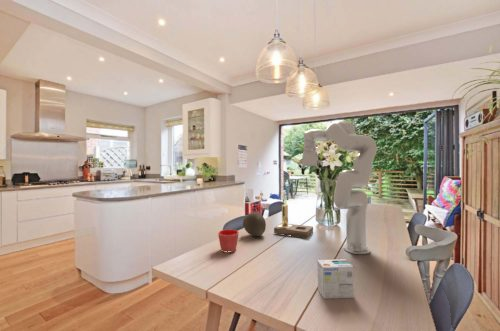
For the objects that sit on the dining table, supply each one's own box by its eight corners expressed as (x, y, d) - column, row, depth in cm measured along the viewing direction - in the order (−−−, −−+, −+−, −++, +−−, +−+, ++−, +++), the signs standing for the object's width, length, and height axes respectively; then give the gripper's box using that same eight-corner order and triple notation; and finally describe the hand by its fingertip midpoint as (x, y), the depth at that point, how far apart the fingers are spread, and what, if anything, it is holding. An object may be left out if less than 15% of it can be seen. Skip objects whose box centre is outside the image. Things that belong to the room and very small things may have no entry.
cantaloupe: (256, 231, 159) (255, 209, 159) (270, 236, 148) (270, 212, 148) (239, 236, 150) (239, 212, 150) (253, 241, 139) (253, 216, 139)
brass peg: (288, 225, 158) (288, 204, 158) (286, 226, 154) (286, 205, 154) (283, 224, 159) (282, 204, 160) (281, 226, 156) (280, 205, 156)
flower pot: (241, 252, 122) (241, 233, 122) (221, 255, 118) (220, 236, 118) (235, 245, 132) (235, 228, 132) (216, 248, 128) (216, 230, 128)
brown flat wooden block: (307, 238, 142) (307, 231, 142) (274, 233, 153) (273, 227, 153) (313, 232, 155) (312, 226, 155) (281, 228, 165) (281, 222, 165)
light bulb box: (346, 287, 85) (345, 258, 85) (354, 298, 78) (354, 266, 78) (316, 288, 84) (316, 259, 85) (323, 299, 78) (322, 267, 78)
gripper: (324, 149, 157) (324, 174, 157) (299, 150, 166) (299, 174, 166) (321, 148, 151) (322, 175, 151) (295, 149, 159) (296, 174, 159)
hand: (310, 174), depth 158 cm, fingers open, 9 cm apart
